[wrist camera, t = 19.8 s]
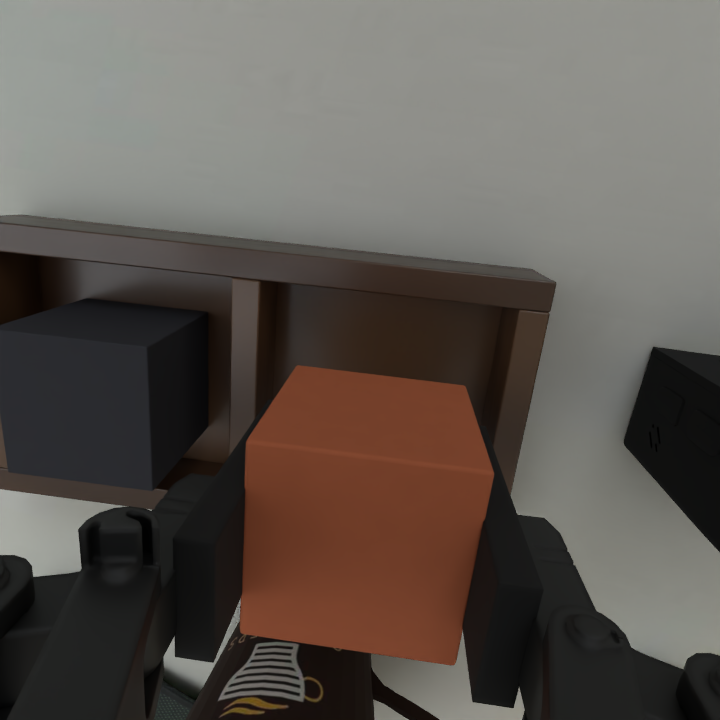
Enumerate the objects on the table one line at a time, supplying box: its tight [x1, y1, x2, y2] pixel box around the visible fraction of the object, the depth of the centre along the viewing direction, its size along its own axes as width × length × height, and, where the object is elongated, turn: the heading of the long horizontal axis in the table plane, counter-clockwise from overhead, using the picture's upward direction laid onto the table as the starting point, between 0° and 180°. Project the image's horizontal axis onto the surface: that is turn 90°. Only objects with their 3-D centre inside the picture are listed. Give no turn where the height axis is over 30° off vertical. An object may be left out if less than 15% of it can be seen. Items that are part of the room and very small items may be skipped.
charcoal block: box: [0, 298, 208, 491], centre depth 18 cm, size 5×5×5 cm
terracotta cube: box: [240, 365, 494, 665], centre depth 13 cm, size 5×5×5 cm
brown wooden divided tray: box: [0, 215, 556, 510], centre depth 20 cm, size 10×20×3 cm, turn 85°
